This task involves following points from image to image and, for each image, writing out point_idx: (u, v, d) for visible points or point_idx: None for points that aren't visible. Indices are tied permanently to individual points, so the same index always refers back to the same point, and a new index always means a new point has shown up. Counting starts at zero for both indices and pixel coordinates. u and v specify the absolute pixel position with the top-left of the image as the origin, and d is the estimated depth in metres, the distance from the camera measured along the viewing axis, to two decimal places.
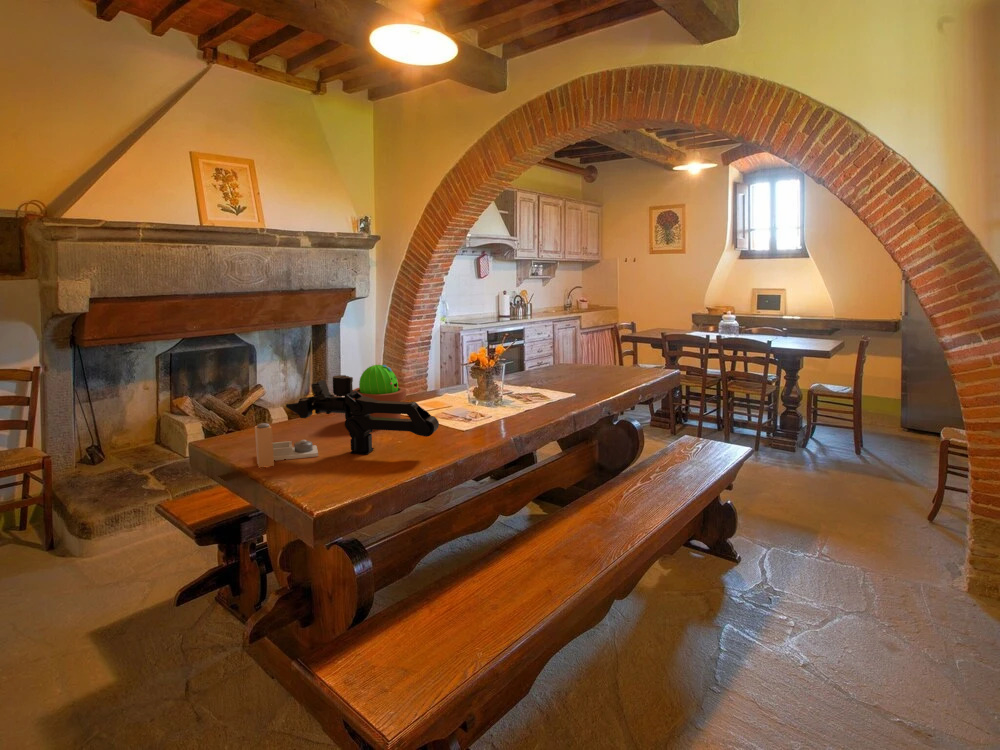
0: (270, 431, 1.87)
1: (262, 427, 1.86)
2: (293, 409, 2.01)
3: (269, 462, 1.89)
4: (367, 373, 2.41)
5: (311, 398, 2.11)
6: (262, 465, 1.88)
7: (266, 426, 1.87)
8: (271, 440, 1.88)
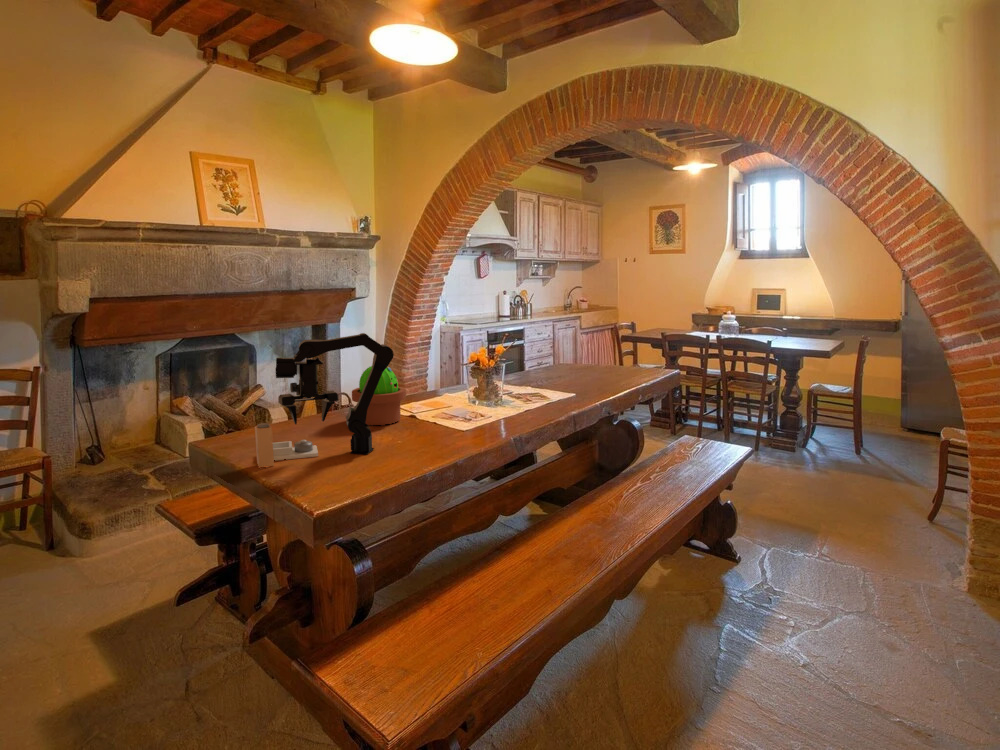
0: (270, 431, 1.87)
1: (262, 427, 1.86)
2: (292, 415, 1.94)
3: (269, 462, 1.89)
4: (367, 373, 2.41)
5: (322, 407, 2.01)
6: (262, 465, 1.88)
7: (266, 426, 1.87)
8: (271, 440, 1.88)
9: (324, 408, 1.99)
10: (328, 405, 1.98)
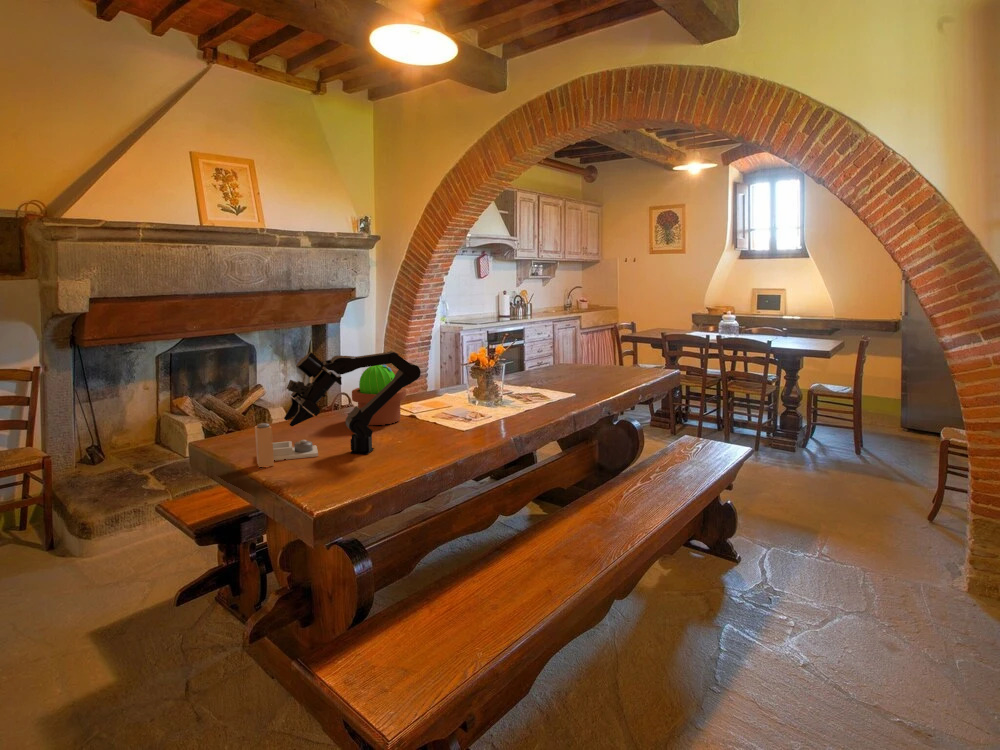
0: (270, 431, 1.87)
1: (262, 427, 1.86)
2: (300, 420, 1.88)
3: (269, 462, 1.89)
4: (367, 373, 2.41)
5: (292, 407, 1.97)
6: (262, 465, 1.88)
7: (266, 426, 1.87)
8: (271, 440, 1.88)
9: (297, 410, 1.98)
10: None
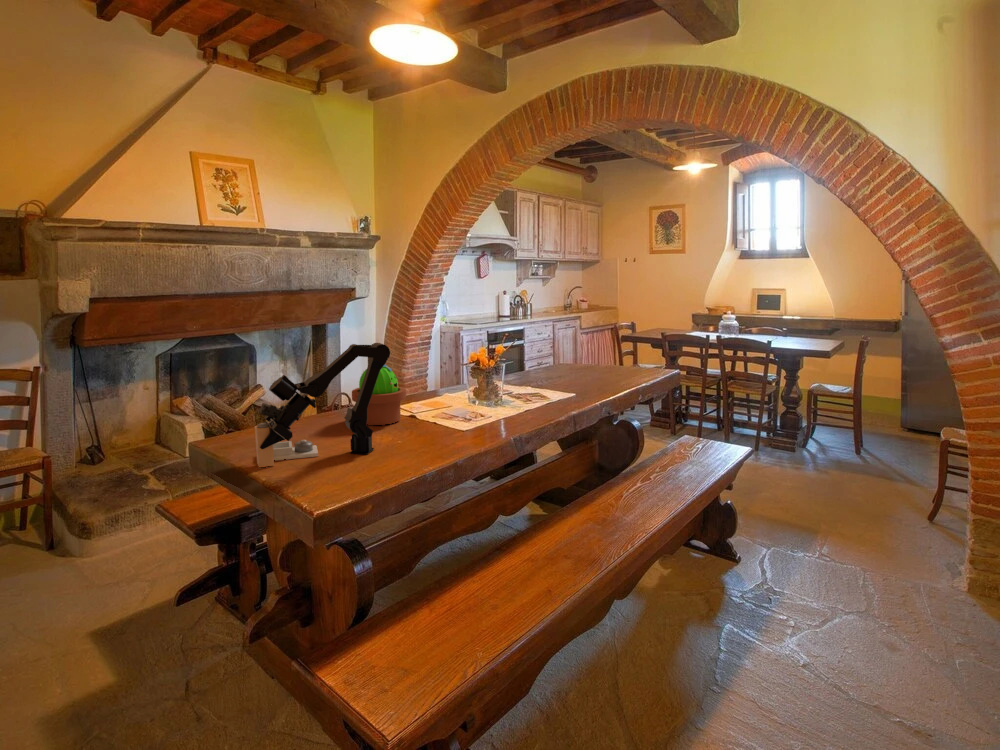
0: None
1: (262, 427, 1.86)
2: (271, 442, 1.87)
3: (269, 462, 1.89)
4: None
5: None
6: (262, 465, 1.88)
7: (266, 426, 1.87)
8: None
9: None
10: None
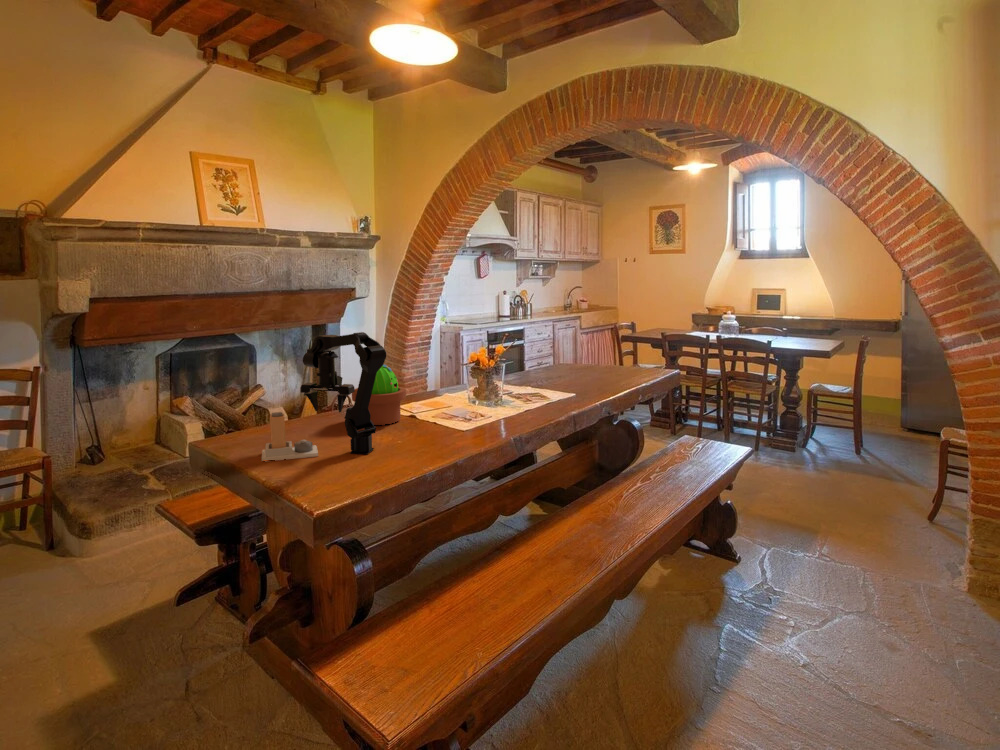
0: (283, 420, 1.97)
1: (275, 416, 1.96)
2: None
3: None
4: None
5: None
6: None
7: (279, 415, 1.97)
8: (283, 428, 1.98)
9: None
10: (339, 397, 2.10)
